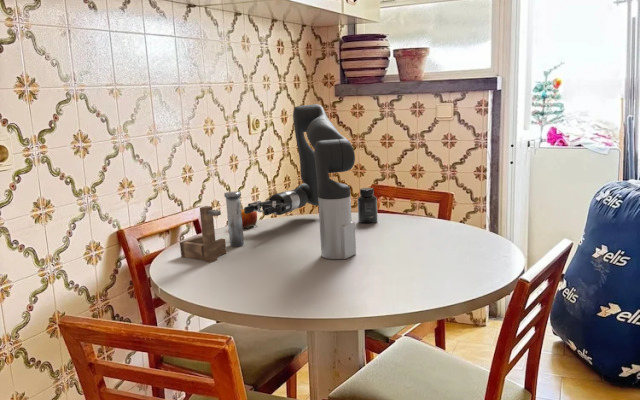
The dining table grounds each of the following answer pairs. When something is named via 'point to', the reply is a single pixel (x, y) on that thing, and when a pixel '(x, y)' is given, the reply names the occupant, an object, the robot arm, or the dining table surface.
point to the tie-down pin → (234, 218)
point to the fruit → (248, 219)
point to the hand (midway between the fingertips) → (254, 211)
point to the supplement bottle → (367, 206)
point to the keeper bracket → (204, 239)
